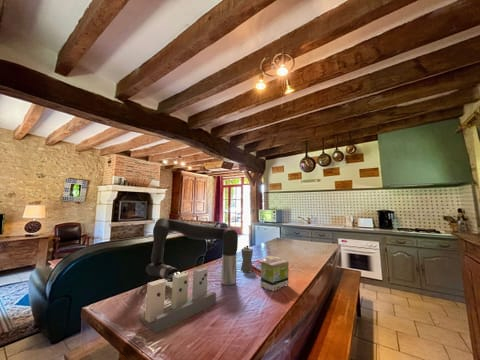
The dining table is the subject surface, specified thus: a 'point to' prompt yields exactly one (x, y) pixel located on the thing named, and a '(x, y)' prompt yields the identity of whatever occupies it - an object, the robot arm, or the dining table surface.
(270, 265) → the tea box
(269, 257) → the candle holder
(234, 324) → the dining table surface
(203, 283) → the tile three
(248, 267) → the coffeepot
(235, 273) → the robot arm
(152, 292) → the tile one
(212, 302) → the tile stand
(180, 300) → the tile two
